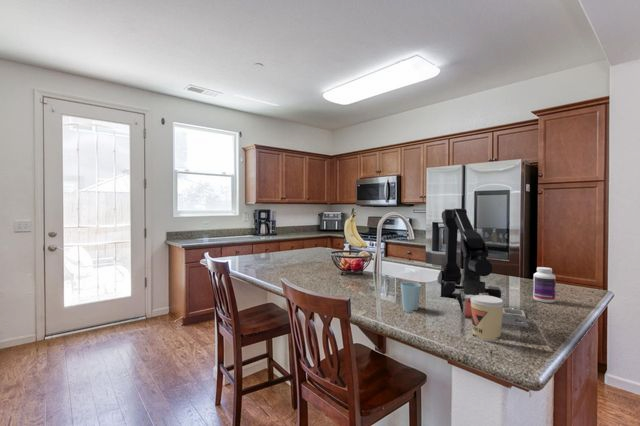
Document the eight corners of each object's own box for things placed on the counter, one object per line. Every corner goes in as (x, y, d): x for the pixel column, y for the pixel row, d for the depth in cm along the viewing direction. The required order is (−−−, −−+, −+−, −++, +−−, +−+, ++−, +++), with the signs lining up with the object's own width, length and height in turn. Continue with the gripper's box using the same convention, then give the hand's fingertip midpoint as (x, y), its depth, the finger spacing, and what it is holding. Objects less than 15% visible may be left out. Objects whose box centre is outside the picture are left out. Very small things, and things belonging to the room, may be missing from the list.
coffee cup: (464, 331, 107) (464, 294, 106) (491, 330, 107) (491, 294, 107) (480, 343, 97) (481, 303, 97) (510, 342, 98) (510, 302, 98)
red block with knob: (465, 315, 119) (465, 299, 119) (465, 312, 122) (465, 296, 122) (477, 317, 117) (477, 301, 117) (477, 313, 121) (477, 298, 120)
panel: (463, 320, 116) (463, 314, 116) (464, 305, 134) (464, 300, 134) (529, 330, 108) (529, 324, 108) (521, 313, 126) (521, 307, 126)
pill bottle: (559, 304, 138) (559, 270, 137) (537, 302, 139) (538, 269, 139) (549, 298, 146) (550, 266, 145) (529, 297, 147) (530, 266, 147)
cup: (413, 307, 132) (413, 281, 132) (424, 313, 125) (425, 286, 124) (396, 308, 130) (397, 282, 130) (407, 314, 122) (407, 287, 122)
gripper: (442, 272, 116) (442, 315, 116) (502, 277, 108) (501, 324, 108) (445, 267, 126) (444, 307, 126) (500, 271, 118) (499, 314, 118)
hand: (471, 312), depth 120 cm, fingers open, 6 cm apart
